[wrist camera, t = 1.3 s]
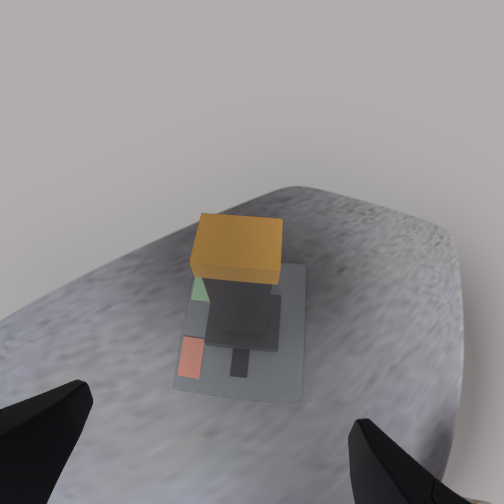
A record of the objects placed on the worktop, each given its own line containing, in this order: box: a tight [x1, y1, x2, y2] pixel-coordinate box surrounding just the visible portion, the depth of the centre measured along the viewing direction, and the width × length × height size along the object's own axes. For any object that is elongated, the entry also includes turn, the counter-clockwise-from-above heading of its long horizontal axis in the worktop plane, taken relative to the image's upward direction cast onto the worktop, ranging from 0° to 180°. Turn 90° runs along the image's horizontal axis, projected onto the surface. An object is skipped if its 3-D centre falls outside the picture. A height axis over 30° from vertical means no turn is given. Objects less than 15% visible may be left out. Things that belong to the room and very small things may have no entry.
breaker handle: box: [189, 213, 283, 352], centre depth 15 cm, size 4×5×11 cm
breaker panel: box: [173, 263, 306, 403], centre depth 21 cm, size 11×9×2 cm
